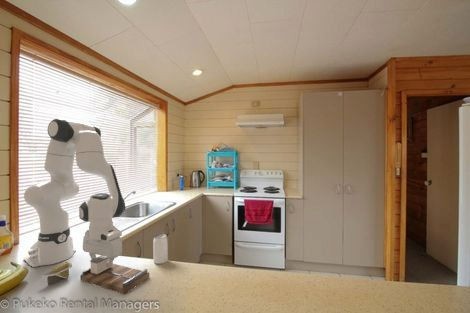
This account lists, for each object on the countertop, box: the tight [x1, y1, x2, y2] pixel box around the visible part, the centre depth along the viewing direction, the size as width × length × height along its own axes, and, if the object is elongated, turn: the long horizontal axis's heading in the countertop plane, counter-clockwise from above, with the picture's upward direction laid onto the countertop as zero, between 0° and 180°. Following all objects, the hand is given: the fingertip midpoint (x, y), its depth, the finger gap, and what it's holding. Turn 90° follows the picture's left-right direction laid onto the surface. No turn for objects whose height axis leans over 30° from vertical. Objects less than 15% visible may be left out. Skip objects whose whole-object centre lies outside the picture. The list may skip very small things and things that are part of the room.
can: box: [152, 233, 169, 265], centre depth 105 cm, size 6×6×12 cm
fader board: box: [80, 263, 150, 295], centre depth 90 cm, size 25×12×4 cm, turn 67°
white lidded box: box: [89, 255, 113, 274], centre depth 93 cm, size 4×7×5 cm, turn 157°
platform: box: [43, 261, 73, 286], centre depth 90 cm, size 12×18×7 cm, turn 160°
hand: (101, 264), depth 93 cm, fingers open, 8 cm apart
